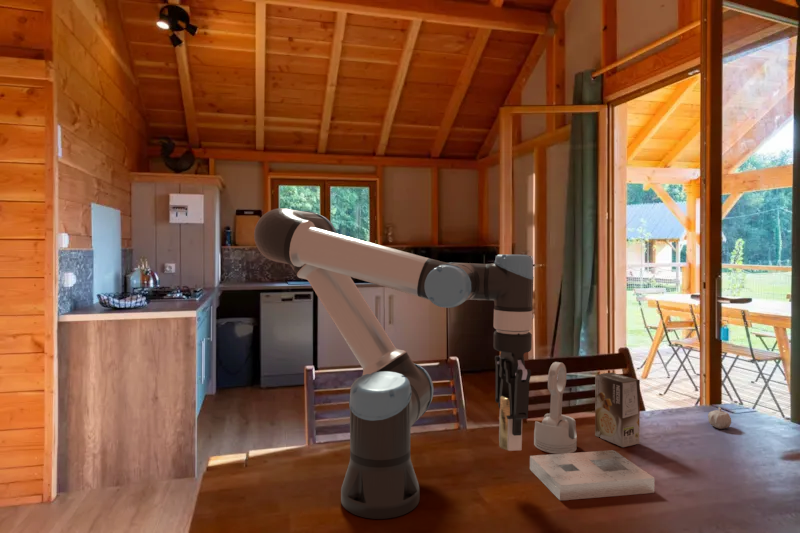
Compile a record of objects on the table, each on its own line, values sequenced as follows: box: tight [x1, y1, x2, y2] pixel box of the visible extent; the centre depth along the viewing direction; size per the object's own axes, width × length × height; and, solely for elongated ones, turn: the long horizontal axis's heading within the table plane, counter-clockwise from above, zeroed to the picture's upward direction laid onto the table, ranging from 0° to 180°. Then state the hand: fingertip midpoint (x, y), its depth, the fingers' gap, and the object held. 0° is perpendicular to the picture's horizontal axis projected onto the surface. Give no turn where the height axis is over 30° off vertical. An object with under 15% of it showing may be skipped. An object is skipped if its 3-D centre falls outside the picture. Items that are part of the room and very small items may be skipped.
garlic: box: [707, 406, 732, 430], centre depth 137 cm, size 6×5×5 cm
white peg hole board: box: [529, 449, 655, 501], centre depth 105 cm, size 20×14×3 cm
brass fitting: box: [498, 395, 510, 451], centre depth 102 cm, size 4×4×10 cm
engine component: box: [533, 361, 578, 454], centre depth 124 cm, size 11×20×10 cm
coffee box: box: [594, 372, 641, 448], centre depth 127 cm, size 9×6×16 cm
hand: (510, 444), depth 102 cm, fingers closed on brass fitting, 4 cm apart
